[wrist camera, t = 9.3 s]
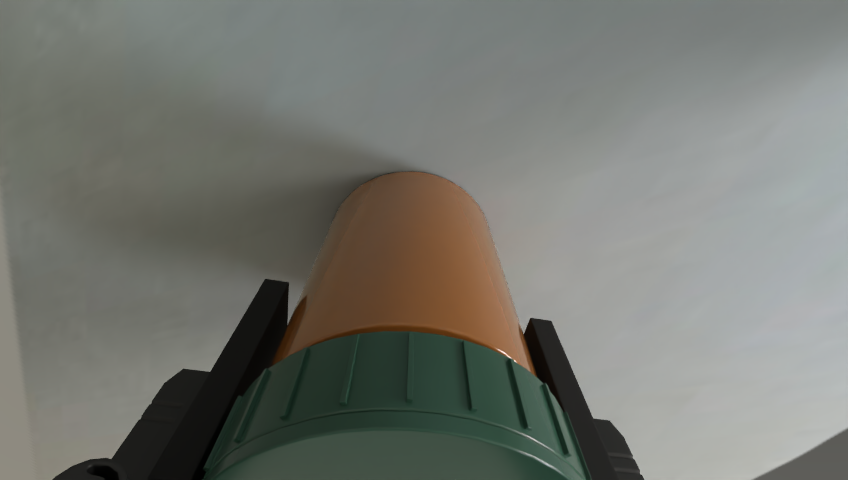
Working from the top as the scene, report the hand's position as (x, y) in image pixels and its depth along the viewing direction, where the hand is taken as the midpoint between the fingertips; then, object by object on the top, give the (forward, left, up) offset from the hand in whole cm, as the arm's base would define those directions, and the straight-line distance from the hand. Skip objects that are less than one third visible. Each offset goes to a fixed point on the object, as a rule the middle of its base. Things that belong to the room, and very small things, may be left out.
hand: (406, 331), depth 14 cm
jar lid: (0, 0, +7) cm, 7 cm away
